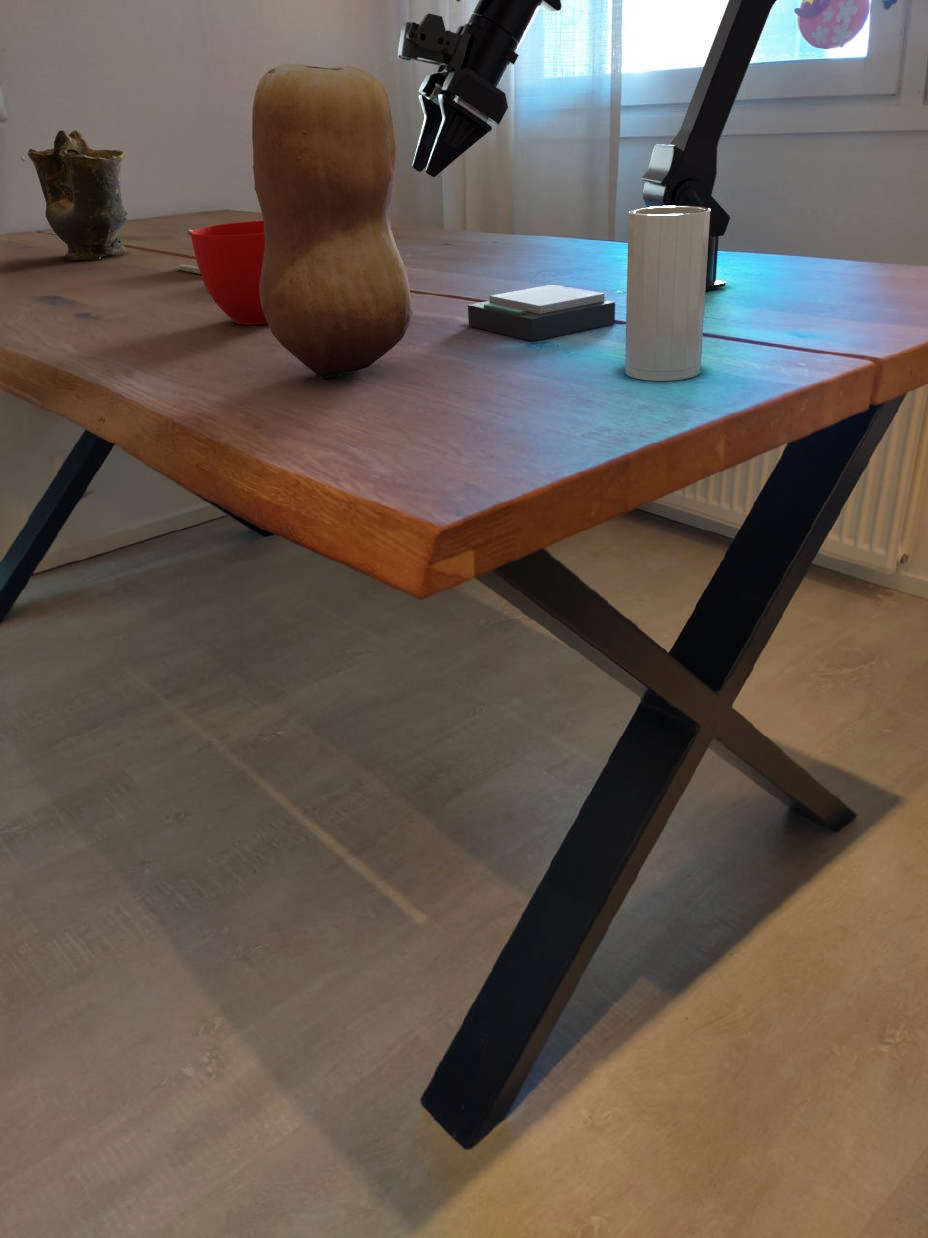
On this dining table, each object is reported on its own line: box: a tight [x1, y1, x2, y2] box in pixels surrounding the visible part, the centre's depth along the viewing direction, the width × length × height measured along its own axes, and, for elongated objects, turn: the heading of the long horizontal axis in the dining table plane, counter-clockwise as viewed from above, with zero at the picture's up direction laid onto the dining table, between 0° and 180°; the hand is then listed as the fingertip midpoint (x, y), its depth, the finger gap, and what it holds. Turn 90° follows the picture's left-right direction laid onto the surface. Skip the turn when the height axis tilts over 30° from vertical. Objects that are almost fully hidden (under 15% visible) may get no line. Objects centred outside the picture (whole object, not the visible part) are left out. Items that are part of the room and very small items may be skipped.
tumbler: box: [624, 206, 710, 382], centre depth 84 cm, size 6×6×13 cm
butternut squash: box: [251, 63, 413, 379], centre depth 87 cm, size 14×13×25 cm
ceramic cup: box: [190, 220, 268, 326], centre depth 116 cm, size 13×17×10 cm
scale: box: [467, 284, 616, 342], centre depth 106 cm, size 11×11×3 cm
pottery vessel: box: [27, 129, 128, 261], centre depth 170 cm, size 25×11×20 cm, turn 40°
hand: (422, 172), depth 109 cm, fingers open, 9 cm apart
